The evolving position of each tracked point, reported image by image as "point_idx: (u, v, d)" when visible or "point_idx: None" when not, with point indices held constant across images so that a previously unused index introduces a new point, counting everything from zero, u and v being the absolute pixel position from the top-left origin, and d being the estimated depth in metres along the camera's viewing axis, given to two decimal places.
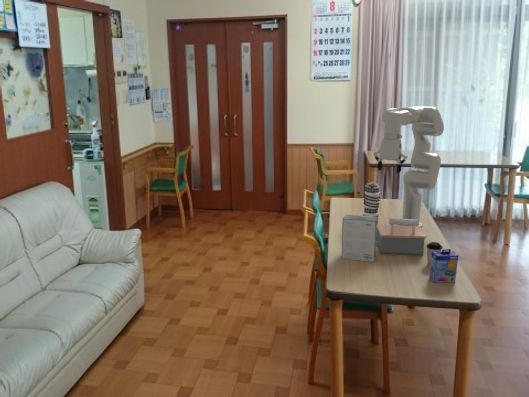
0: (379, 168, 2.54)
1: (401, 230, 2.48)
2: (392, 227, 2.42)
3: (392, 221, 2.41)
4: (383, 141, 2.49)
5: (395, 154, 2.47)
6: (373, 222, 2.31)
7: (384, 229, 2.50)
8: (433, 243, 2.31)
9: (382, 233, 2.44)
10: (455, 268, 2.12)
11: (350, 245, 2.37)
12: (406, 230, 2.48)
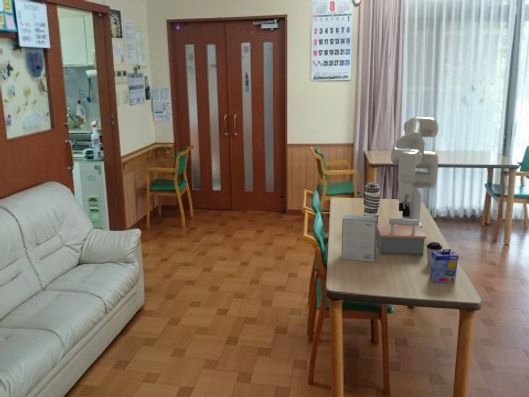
0: None
1: (401, 230, 2.48)
2: (392, 227, 2.42)
3: (392, 221, 2.41)
4: (412, 184, 2.34)
5: None
6: (373, 222, 2.31)
7: (384, 229, 2.50)
8: (433, 243, 2.31)
9: (382, 233, 2.44)
10: (455, 268, 2.12)
11: (350, 245, 2.37)
12: (406, 230, 2.48)
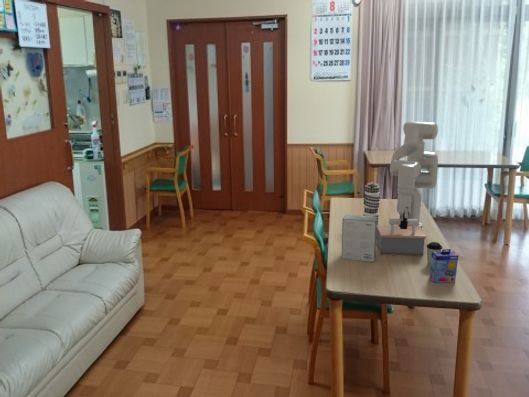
0: (406, 226, 2.41)
1: (401, 230, 2.48)
2: (392, 227, 2.42)
3: (392, 221, 2.41)
4: (411, 196, 2.35)
5: None
6: (373, 222, 2.31)
7: (384, 229, 2.50)
8: (433, 243, 2.31)
9: (382, 233, 2.44)
10: (455, 268, 2.12)
11: (350, 245, 2.37)
12: (406, 230, 2.48)
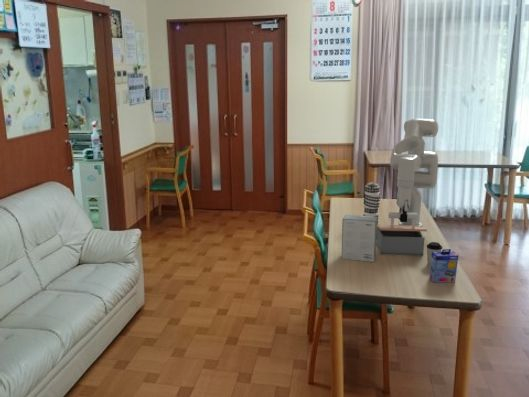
0: (406, 219, 2.42)
1: None
2: (392, 221, 2.43)
3: (391, 214, 2.42)
4: (411, 189, 2.36)
5: None
6: (373, 222, 2.31)
7: (384, 226, 2.50)
8: (433, 243, 2.31)
9: (382, 227, 2.43)
10: (455, 268, 2.12)
11: (350, 245, 2.37)
12: None
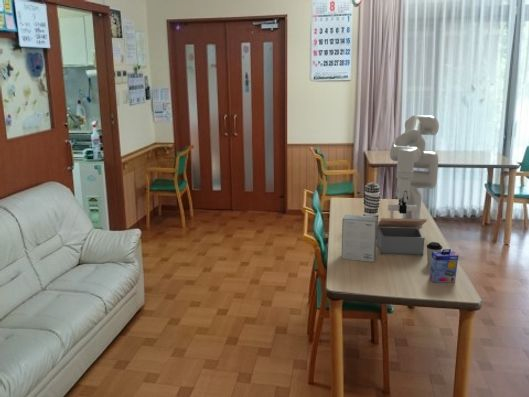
0: (405, 211, 2.44)
1: None
2: (392, 212, 2.44)
3: (391, 205, 2.44)
4: (410, 181, 2.39)
5: None
6: (373, 222, 2.31)
7: None
8: (433, 243, 2.31)
9: None
10: (455, 268, 2.12)
11: (350, 245, 2.37)
12: None
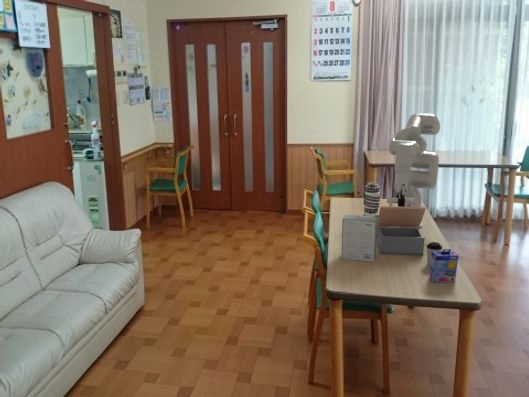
0: None
1: None
2: (391, 204, 2.48)
3: (389, 197, 2.49)
4: (408, 174, 2.44)
5: None
6: (373, 222, 2.31)
7: None
8: (433, 243, 2.31)
9: None
10: (455, 268, 2.12)
11: (350, 245, 2.37)
12: None
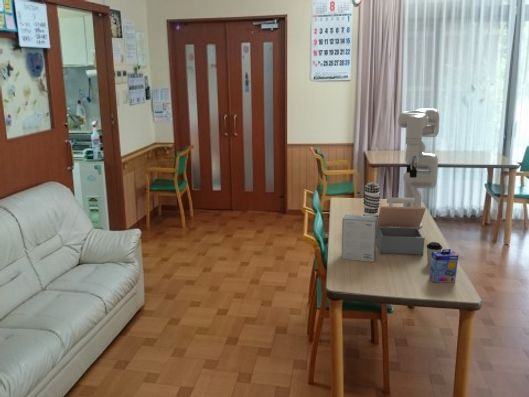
0: None
1: None
2: (391, 204, 2.48)
3: (389, 197, 2.49)
4: (419, 146, 2.46)
5: None
6: (373, 222, 2.31)
7: None
8: (433, 243, 2.31)
9: None
10: (455, 268, 2.12)
11: (350, 245, 2.37)
12: None
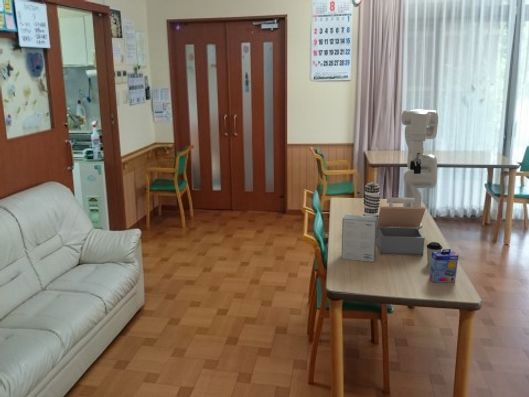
0: None
1: None
2: (391, 204, 2.48)
3: (389, 197, 2.49)
4: None
5: None
6: (373, 222, 2.31)
7: None
8: (433, 243, 2.31)
9: None
10: (455, 268, 2.12)
11: (350, 245, 2.37)
12: None
